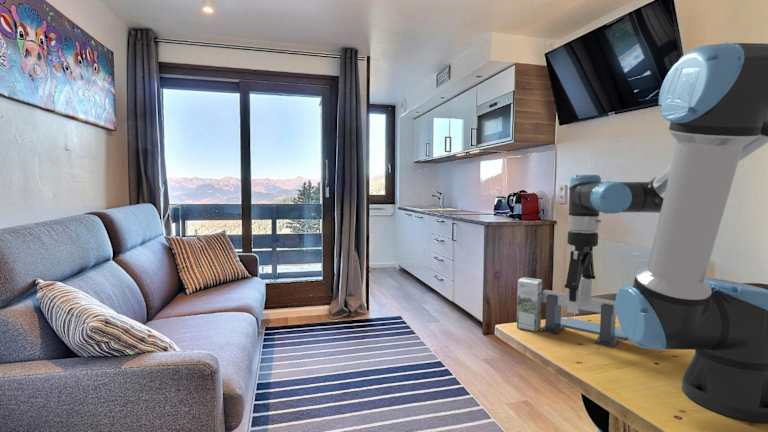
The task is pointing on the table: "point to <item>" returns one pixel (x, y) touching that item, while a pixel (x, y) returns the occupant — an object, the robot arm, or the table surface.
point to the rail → (580, 301)
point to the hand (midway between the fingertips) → (579, 306)
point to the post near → (607, 328)
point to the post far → (552, 317)
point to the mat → (589, 326)
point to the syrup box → (529, 304)
